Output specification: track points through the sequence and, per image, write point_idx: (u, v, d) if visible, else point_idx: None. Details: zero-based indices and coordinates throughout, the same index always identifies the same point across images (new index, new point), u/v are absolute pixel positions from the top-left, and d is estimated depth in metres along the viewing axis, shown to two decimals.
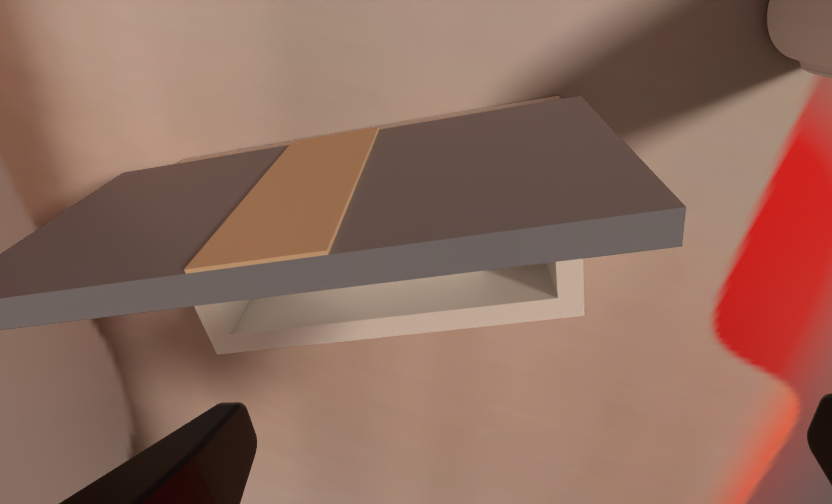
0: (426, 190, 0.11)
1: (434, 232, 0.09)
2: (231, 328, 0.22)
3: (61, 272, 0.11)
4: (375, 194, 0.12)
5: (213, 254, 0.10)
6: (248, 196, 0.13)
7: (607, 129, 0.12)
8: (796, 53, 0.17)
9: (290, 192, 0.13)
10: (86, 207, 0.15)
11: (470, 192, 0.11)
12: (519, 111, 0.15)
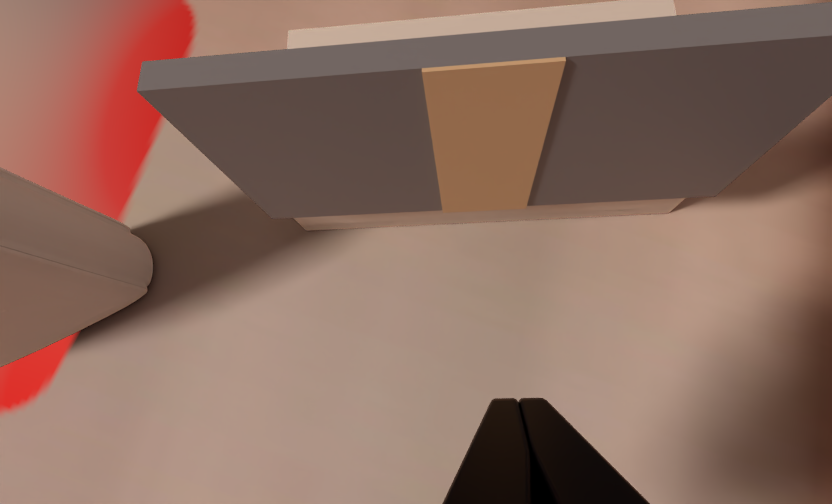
0: (361, 133, 0.13)
1: (331, 84, 0.11)
2: None
3: (723, 69, 0.11)
4: (409, 134, 0.13)
5: (541, 77, 0.11)
6: (539, 145, 0.14)
7: (233, 179, 0.15)
8: (129, 236, 0.22)
9: (495, 145, 0.13)
10: (738, 154, 0.14)
11: (319, 126, 0.13)
12: (317, 210, 0.18)
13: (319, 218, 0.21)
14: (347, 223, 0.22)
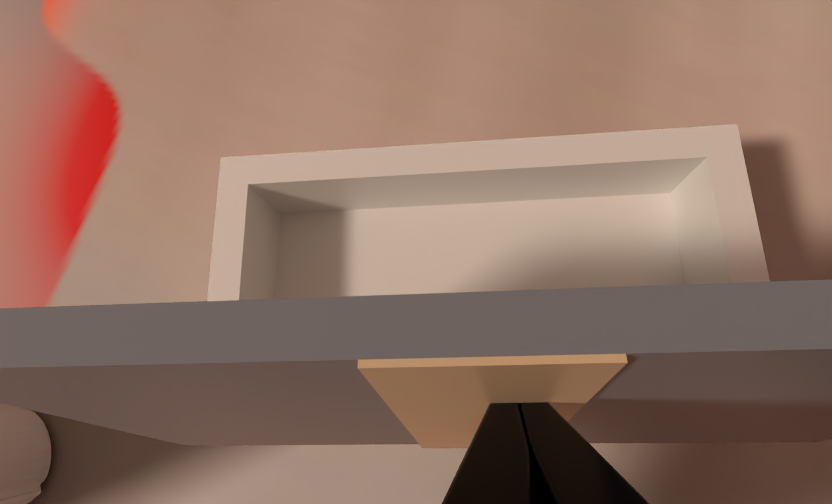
0: (278, 402, 0.08)
1: (201, 370, 0.06)
2: (703, 165, 0.15)
3: None
4: (356, 404, 0.08)
5: (579, 374, 0.06)
6: (567, 416, 0.08)
7: (104, 425, 0.10)
8: (15, 424, 0.17)
9: None
10: None
11: (206, 397, 0.08)
12: (244, 442, 0.13)
13: None
14: None
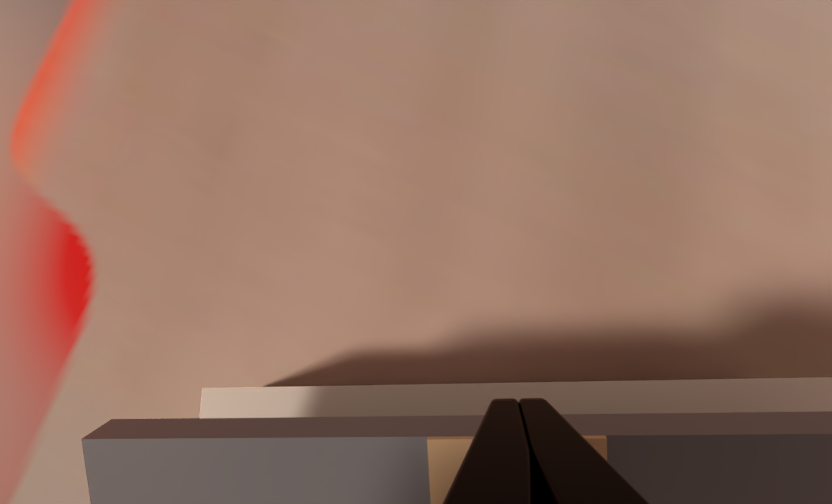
0: None
1: (313, 454, 0.09)
2: None
3: (826, 481, 0.08)
4: None
5: None
6: None
7: None
8: None
9: None
10: None
11: None
12: None
13: None
14: None
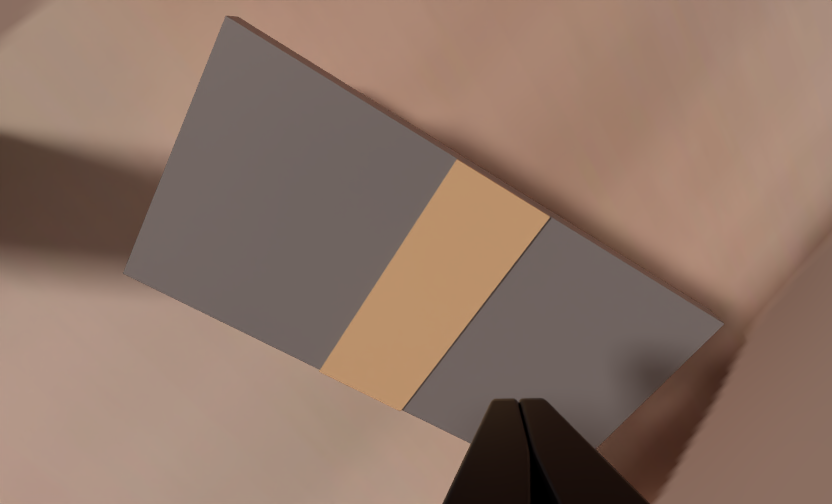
0: (352, 198, 0.13)
1: (382, 127, 0.13)
2: None
3: (627, 297, 0.14)
4: (387, 227, 0.14)
5: (526, 223, 0.13)
6: (475, 309, 0.15)
7: (165, 178, 0.13)
8: None
9: (443, 286, 0.14)
10: (597, 421, 0.16)
11: (327, 164, 0.13)
12: (193, 288, 0.15)
13: None
14: None
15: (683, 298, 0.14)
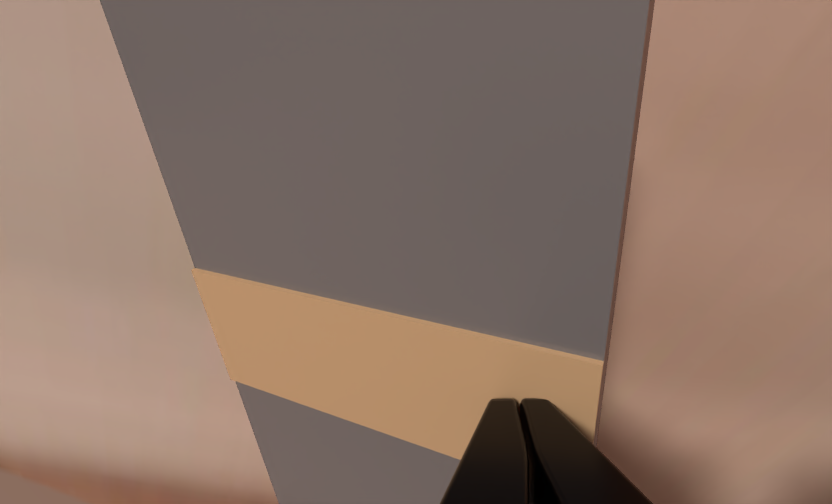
0: (436, 220, 0.07)
1: (592, 222, 0.06)
2: None
3: None
4: (427, 290, 0.08)
5: None
6: (399, 435, 0.10)
7: None
8: None
9: (400, 392, 0.09)
10: None
11: (464, 153, 0.06)
12: (134, 26, 0.08)
13: None
14: None
15: None
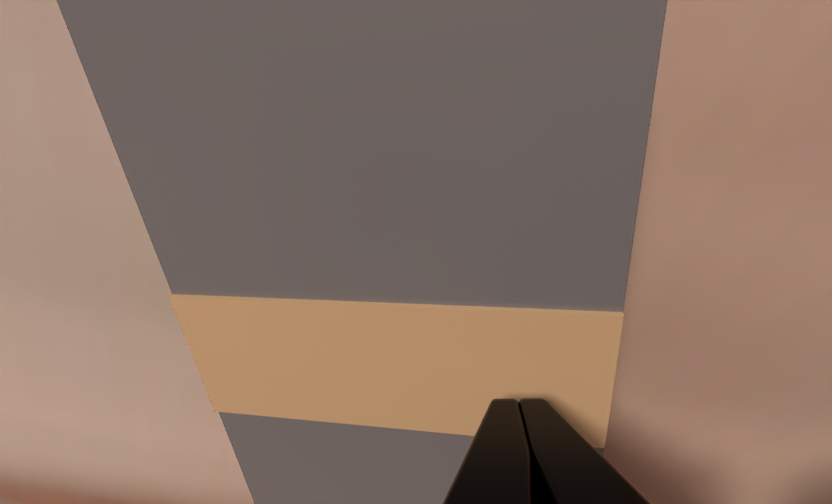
0: (464, 205, 0.07)
1: (615, 188, 0.07)
2: None
3: None
4: (453, 275, 0.08)
5: (578, 429, 0.09)
6: (418, 427, 0.10)
7: None
8: None
9: (421, 382, 0.09)
10: None
11: (495, 137, 0.07)
12: (106, 31, 0.07)
13: None
14: None
15: None
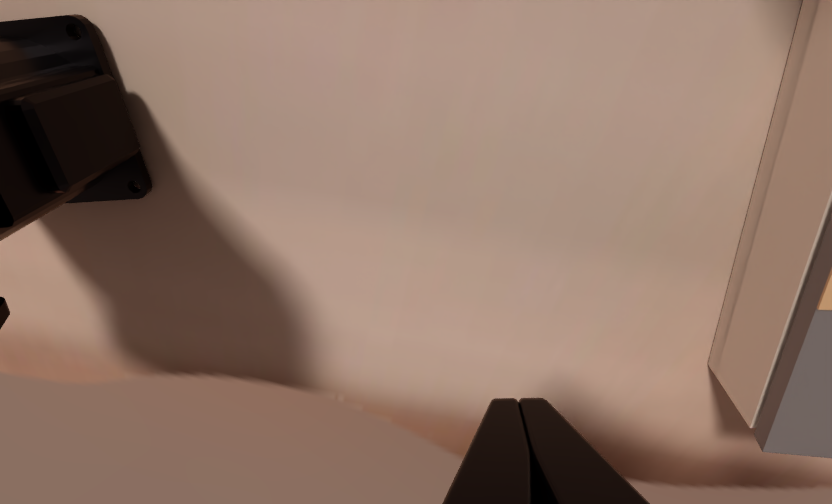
0: None
1: None
2: None
3: None
4: None
5: None
6: None
7: None
8: None
9: None
10: None
11: None
12: None
13: None
14: (810, 30, 0.15)
15: None
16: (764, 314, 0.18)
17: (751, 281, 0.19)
